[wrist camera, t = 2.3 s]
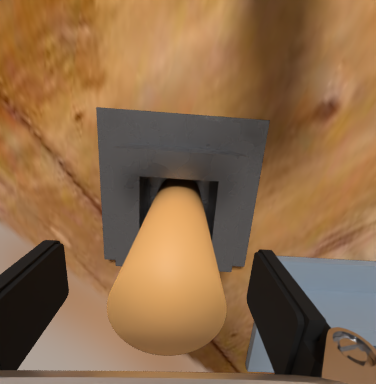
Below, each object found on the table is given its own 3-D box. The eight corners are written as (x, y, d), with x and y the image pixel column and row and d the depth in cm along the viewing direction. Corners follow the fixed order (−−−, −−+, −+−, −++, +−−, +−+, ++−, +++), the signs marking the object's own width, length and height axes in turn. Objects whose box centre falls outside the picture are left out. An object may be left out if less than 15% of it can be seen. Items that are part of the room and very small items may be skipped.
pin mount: (265, 121, 20) (298, 116, 14) (241, 261, 24) (259, 301, 19) (100, 108, 19) (64, 98, 14) (107, 253, 24) (83, 292, 18)
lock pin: (202, 177, 20) (234, 264, 7) (198, 217, 22) (219, 357, 8) (158, 174, 20) (104, 257, 7) (157, 214, 21) (109, 353, 8)
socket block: (413, 263, 25) (482, 303, 19) (366, 368, 30) (409, 424, 24) (268, 255, 24) (293, 294, 18) (245, 363, 29) (260, 420, 23)
